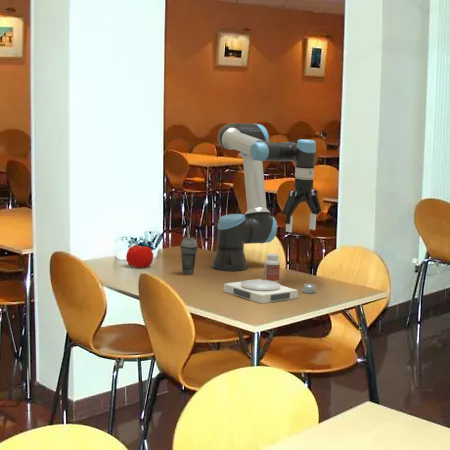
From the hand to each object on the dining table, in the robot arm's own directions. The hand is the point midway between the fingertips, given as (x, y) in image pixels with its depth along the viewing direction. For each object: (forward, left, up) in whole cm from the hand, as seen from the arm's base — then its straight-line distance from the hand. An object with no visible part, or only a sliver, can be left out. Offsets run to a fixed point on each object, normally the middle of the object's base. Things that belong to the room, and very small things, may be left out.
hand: (300, 230), depth 333 cm
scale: (+8, -27, -22) cm, 36 cm away
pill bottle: (-8, -7, -22) cm, 24 cm away
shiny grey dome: (+14, -7, -22) cm, 27 cm away
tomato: (-58, -39, -22) cm, 73 cm away
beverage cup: (-36, -29, -22) cm, 51 cm away
